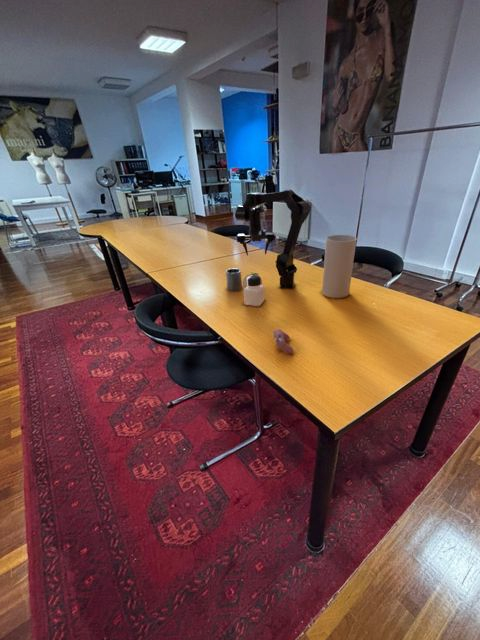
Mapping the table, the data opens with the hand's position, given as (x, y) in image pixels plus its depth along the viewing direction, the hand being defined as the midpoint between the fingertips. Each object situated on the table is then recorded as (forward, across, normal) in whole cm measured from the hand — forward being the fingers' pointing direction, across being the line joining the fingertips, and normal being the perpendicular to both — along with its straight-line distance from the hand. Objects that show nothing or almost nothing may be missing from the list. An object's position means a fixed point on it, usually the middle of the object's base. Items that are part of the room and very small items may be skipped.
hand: (256, 254), depth 151 cm
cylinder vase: (+13, +35, -25) cm, 45 cm away
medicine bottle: (+13, -3, -30) cm, 33 cm away
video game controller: (+13, +5, -69) cm, 70 cm away
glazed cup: (+13, -12, -11) cm, 21 cm away
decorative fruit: (+13, -3, -18) cm, 23 cm away
